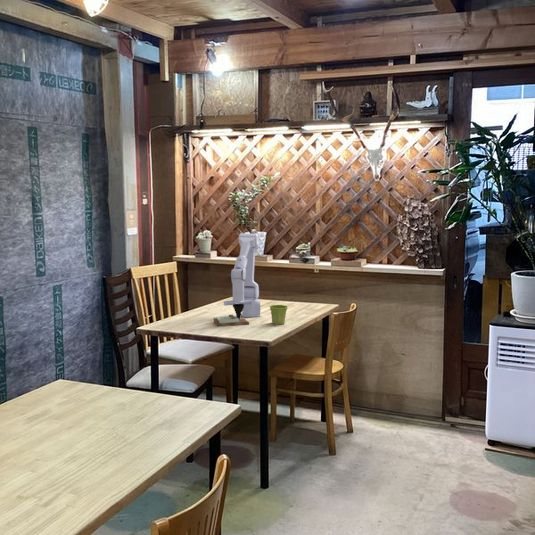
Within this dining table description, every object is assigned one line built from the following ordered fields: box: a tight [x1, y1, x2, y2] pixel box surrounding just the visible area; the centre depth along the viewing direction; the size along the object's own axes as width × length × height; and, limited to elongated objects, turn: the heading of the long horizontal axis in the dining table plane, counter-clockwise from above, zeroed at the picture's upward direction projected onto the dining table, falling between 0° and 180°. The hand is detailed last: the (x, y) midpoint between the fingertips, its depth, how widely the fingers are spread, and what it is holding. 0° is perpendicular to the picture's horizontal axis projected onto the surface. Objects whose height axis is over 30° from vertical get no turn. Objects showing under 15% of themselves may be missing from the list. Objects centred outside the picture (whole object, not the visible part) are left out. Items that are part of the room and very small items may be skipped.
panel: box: [215, 315, 239, 323], centre depth 307 cm, size 10×8×2 cm
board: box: [213, 314, 250, 327], centre depth 307 cm, size 16×9×4 cm, turn 107°
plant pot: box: [269, 304, 289, 325], centre depth 308 cm, size 9×9×9 cm
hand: (238, 319), depth 308 cm, fingers closed
